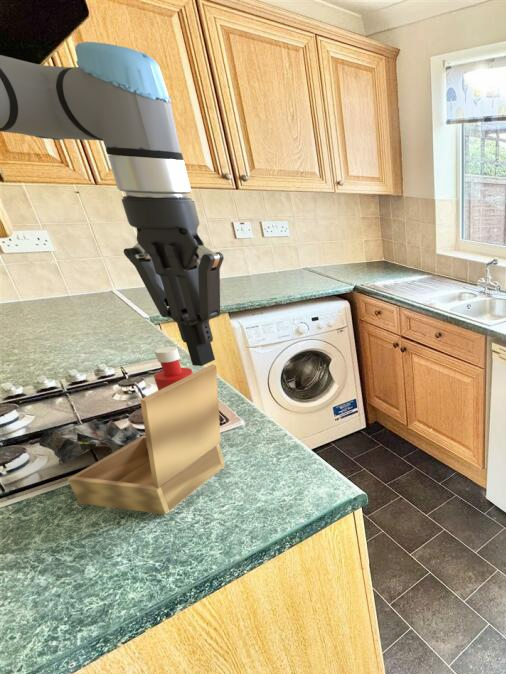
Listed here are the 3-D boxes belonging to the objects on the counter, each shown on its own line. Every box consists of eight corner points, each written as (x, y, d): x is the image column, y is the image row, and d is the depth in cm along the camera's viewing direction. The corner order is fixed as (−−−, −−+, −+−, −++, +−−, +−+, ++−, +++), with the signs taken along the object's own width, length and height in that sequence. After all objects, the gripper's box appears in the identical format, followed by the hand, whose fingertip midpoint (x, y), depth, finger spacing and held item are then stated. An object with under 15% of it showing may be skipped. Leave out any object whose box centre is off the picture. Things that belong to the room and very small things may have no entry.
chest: (80, 506, 70) (67, 479, 68) (152, 460, 83) (143, 435, 80) (167, 517, 69) (156, 489, 67) (226, 468, 81) (219, 443, 79)
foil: (106, 467, 75) (34, 416, 74) (104, 497, 80) (37, 451, 79) (170, 431, 85) (107, 386, 84) (164, 461, 90) (105, 419, 89)
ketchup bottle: (169, 448, 86) (137, 353, 78) (192, 433, 92) (164, 343, 83) (196, 451, 86) (167, 356, 77) (218, 436, 91) (193, 345, 83)
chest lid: (139, 399, 60) (145, 400, 60) (211, 364, 72) (216, 365, 72) (153, 487, 67) (158, 488, 67) (216, 441, 79) (221, 442, 79)
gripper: (225, 198, 58) (259, 357, 67) (137, 192, 58) (184, 350, 68) (180, 198, 51) (226, 375, 61) (82, 192, 52) (143, 367, 62)
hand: (204, 362), depth 64 cm, fingers closed
